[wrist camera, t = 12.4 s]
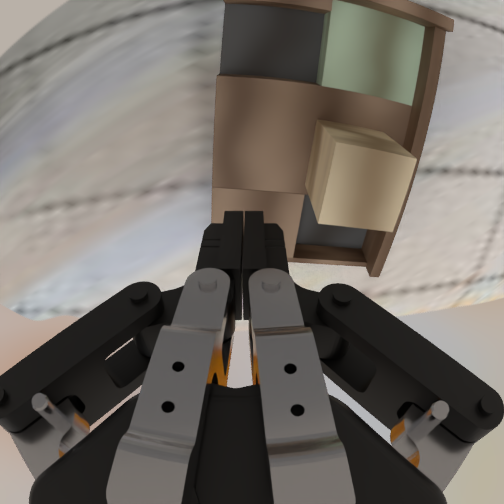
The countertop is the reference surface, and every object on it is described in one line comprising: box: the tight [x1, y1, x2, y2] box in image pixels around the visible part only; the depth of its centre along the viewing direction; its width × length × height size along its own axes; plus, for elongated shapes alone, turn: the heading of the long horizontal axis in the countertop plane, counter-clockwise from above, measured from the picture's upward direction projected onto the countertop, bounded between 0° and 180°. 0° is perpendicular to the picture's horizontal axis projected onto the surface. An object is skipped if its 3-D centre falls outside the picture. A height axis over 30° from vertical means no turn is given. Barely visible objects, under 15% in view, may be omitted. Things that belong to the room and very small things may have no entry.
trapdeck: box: [211, 0, 454, 277], centre depth 22 cm, size 16×24×5 cm, turn 175°
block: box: [305, 119, 417, 232], centre depth 21 cm, size 6×6×6 cm
